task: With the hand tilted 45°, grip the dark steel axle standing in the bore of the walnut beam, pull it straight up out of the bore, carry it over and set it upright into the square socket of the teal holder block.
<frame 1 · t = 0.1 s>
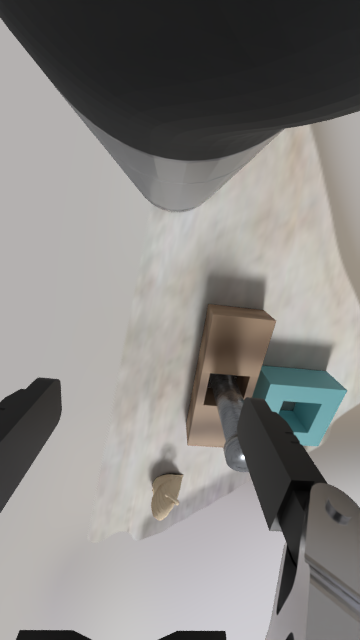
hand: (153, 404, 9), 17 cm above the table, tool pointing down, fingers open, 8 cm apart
axle: (231, 406, 25), in the beam
decorative ornament: (167, 479, 39), on the table
beam: (220, 374, 30), on the table
holder: (281, 396, 32), on the table
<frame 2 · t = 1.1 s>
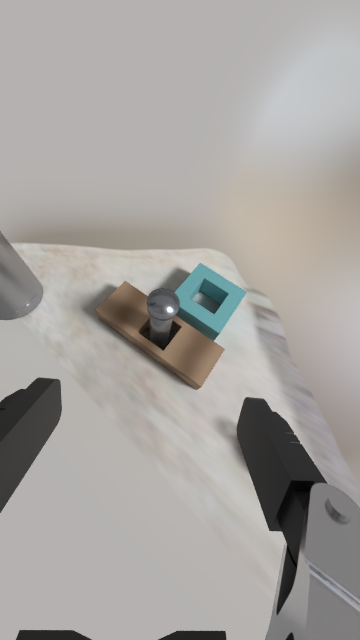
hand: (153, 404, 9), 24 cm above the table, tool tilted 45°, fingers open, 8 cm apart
axle: (160, 322, 31), in the beam
beam: (159, 337, 37), on the table
holder: (203, 306, 40), on the table
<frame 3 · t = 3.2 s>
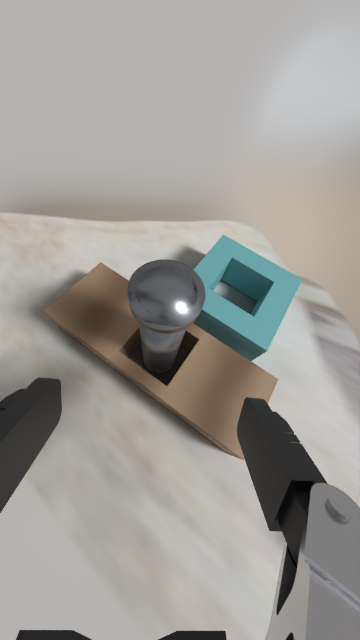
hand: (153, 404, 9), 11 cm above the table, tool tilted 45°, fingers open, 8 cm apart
axle: (161, 334, 16), in the beam
beam: (159, 356, 22), on the table
holder: (229, 304, 25), on the table
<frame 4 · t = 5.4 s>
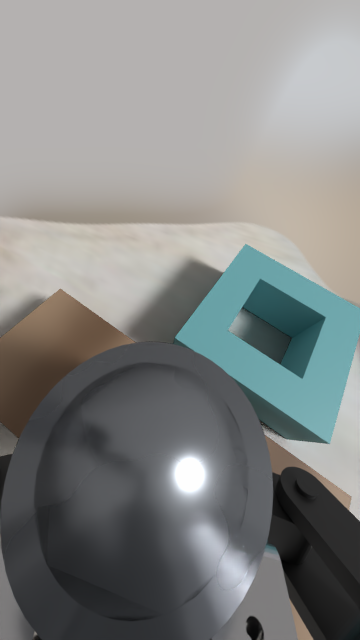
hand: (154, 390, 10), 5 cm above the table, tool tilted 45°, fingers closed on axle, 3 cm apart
axle: (149, 439, 9), in the beam, touching gripper
beam: (150, 434, 14), on the table
holder: (253, 343, 18), on the table
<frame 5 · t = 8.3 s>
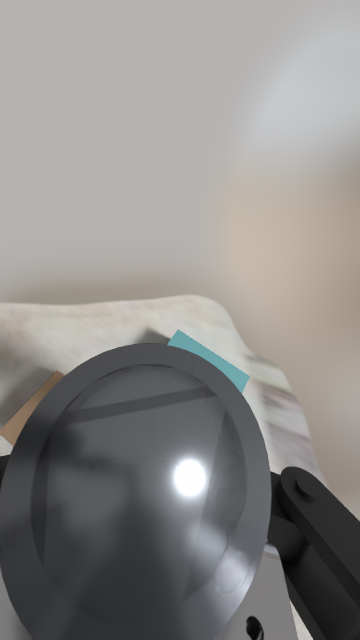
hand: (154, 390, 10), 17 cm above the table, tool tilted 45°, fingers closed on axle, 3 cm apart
axle: (148, 440, 9), point 18 cm above the table, touching gripper
beam: (113, 457, 23), on the table
holder: (185, 393, 27), on the table
when the fingers open (7 cm above the table, at t = 11.0 s): axle drops 1 cm, resting in holder.
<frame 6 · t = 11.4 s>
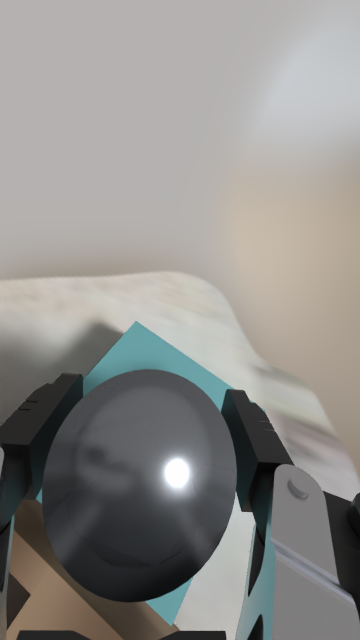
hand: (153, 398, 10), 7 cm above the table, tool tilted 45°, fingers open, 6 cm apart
axle: (148, 441, 10), in the holder
holder: (149, 433, 15), on the table
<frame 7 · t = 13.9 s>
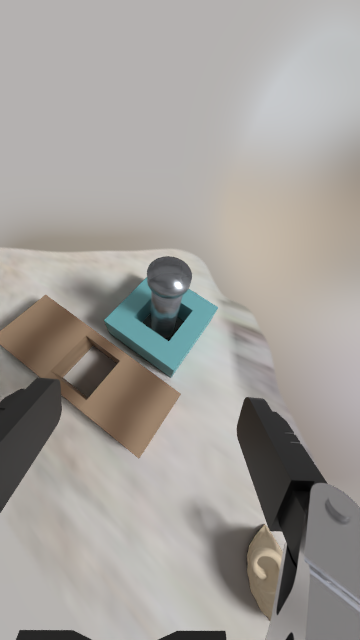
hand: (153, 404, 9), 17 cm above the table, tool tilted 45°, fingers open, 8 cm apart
axle: (165, 306, 24), in the holder
decorative ornament: (266, 567, 21), on the table
beam: (93, 372, 26), on the table
holder: (162, 326, 30), on the table
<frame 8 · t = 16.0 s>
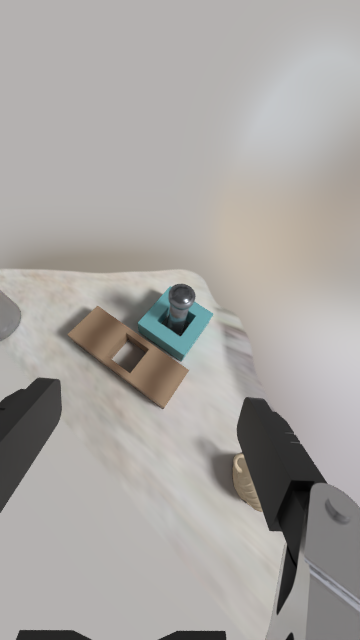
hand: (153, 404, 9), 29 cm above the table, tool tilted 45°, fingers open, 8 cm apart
axle: (177, 313, 37), in the holder
decorative ornament: (244, 476, 33), on the table
beam: (129, 358, 39), on the table
holder: (174, 327, 43), on the table
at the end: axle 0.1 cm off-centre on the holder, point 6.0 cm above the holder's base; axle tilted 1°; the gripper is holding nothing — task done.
